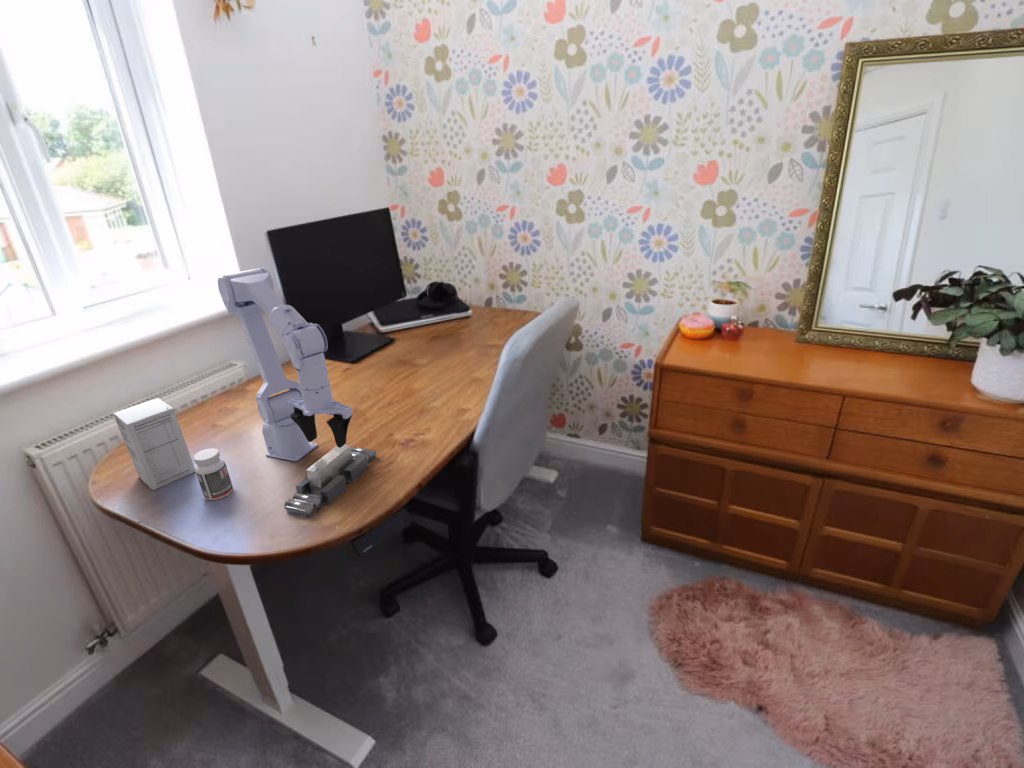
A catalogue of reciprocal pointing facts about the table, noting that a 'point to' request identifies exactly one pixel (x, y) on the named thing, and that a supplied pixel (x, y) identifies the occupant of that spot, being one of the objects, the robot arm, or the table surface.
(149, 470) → the supplement box
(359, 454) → the chain end
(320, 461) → the pale grey rectangular prism
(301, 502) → the chain end
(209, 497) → the pill bottle
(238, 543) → the table surface
